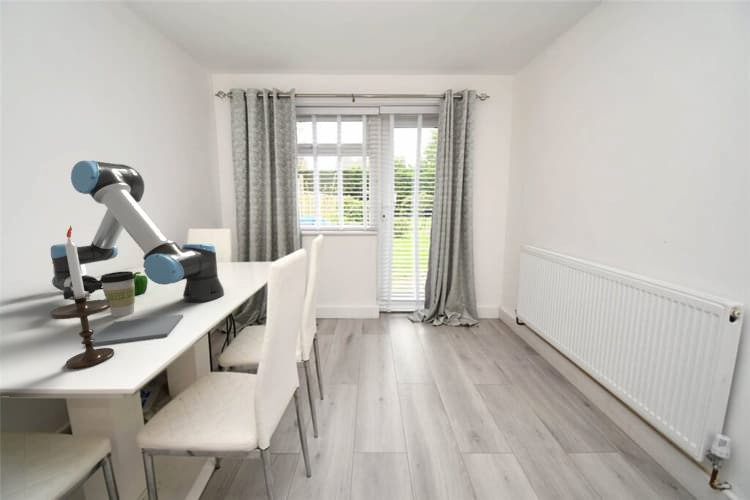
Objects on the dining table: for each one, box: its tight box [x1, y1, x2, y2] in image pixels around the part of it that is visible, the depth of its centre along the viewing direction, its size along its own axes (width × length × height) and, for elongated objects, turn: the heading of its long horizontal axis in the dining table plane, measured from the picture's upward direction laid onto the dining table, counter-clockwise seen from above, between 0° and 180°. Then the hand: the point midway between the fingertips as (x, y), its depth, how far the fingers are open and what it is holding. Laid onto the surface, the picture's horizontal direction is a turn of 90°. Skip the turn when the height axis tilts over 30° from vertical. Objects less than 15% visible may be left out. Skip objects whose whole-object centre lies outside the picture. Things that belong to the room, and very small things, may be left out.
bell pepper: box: [133, 271, 148, 296], centre depth 131 cm, size 8×8×10 cm
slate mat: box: [92, 314, 184, 347], centre depth 94 cm, size 20×16×1 cm
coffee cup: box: [99, 270, 136, 318], centre depth 107 cm, size 10×10×15 cm
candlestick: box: [49, 225, 115, 370], centre depth 74 cm, size 11×11×35 cm
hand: (111, 290), depth 108 cm, fingers open, 13 cm apart
